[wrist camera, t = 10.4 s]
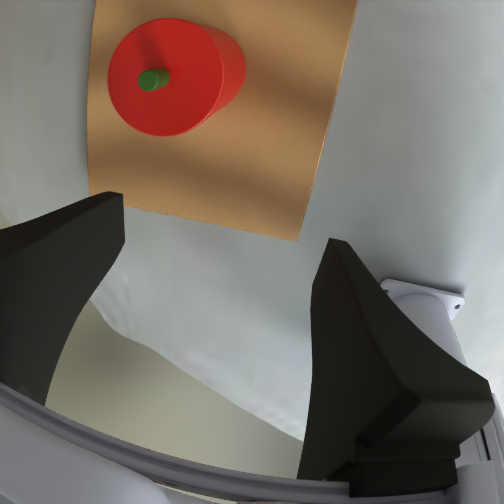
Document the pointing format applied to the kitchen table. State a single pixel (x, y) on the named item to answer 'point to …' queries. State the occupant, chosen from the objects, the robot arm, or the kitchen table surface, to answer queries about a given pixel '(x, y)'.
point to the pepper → (173, 75)
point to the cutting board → (227, 115)
